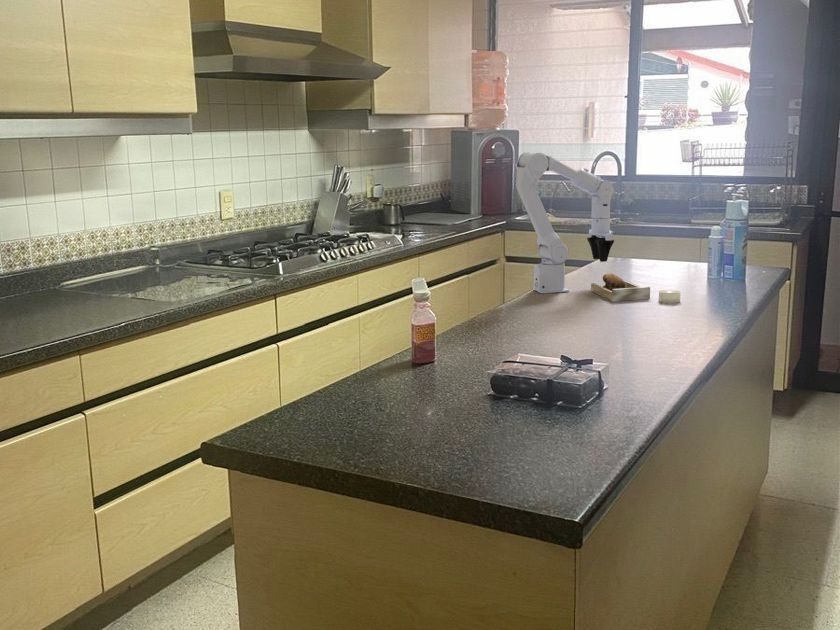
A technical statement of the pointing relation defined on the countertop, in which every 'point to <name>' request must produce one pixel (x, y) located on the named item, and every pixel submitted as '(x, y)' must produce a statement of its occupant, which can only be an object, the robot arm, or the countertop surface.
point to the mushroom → (613, 282)
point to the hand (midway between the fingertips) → (600, 260)
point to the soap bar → (669, 296)
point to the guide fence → (623, 292)
